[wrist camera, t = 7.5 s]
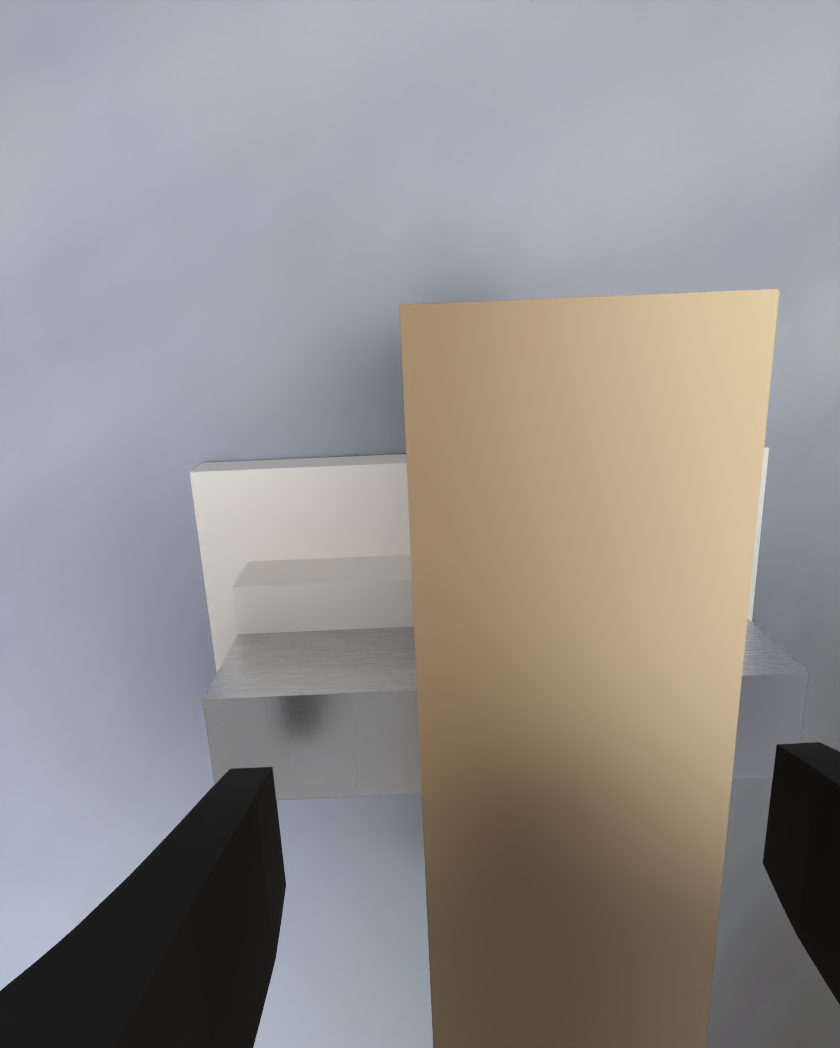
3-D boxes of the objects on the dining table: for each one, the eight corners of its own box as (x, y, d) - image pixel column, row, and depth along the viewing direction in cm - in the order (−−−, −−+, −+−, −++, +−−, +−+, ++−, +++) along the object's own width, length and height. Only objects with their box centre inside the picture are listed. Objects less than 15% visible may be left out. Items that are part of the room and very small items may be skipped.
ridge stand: (746, 439, 16) (896, 493, 11) (718, 753, 18) (832, 914, 13) (203, 462, 16) (112, 527, 11) (243, 775, 18) (182, 943, 13)
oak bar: (601, 302, 10) (780, 288, 5) (578, 1048, 14) (668, 1431, 9) (403, 310, 10) (399, 304, 5) (436, 1054, 14) (451, 1442, 9)
